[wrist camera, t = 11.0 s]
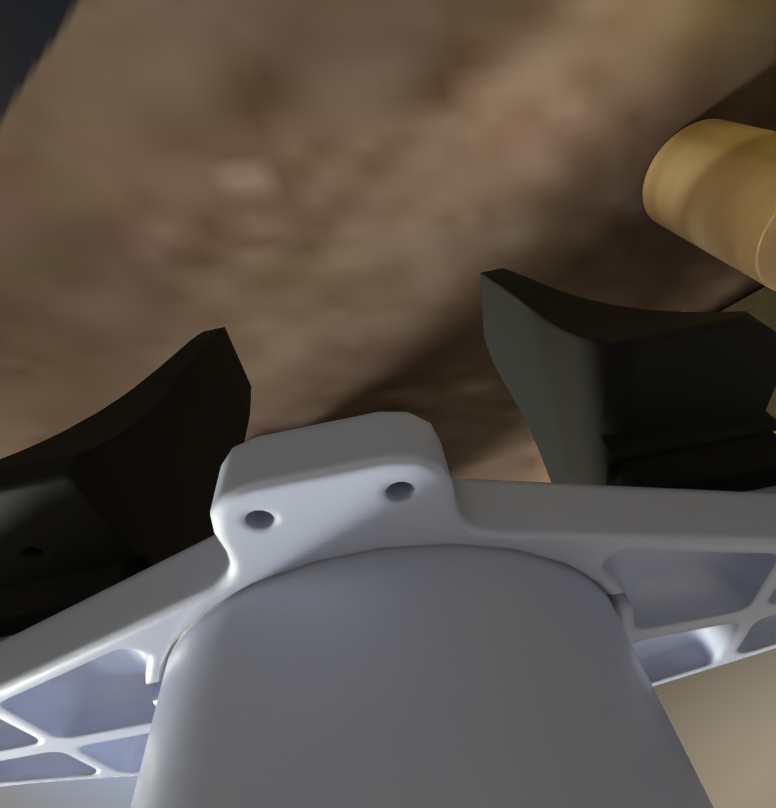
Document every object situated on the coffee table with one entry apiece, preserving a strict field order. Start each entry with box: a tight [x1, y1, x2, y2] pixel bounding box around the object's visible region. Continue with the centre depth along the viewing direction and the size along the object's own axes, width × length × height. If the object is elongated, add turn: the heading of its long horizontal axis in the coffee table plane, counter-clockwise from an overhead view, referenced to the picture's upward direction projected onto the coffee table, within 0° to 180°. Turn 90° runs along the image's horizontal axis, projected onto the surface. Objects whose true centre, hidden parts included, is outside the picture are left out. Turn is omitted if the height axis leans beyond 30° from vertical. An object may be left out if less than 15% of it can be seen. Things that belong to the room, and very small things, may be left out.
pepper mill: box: [642, 119, 776, 291], centre depth 19 cm, size 5×5×9 cm
